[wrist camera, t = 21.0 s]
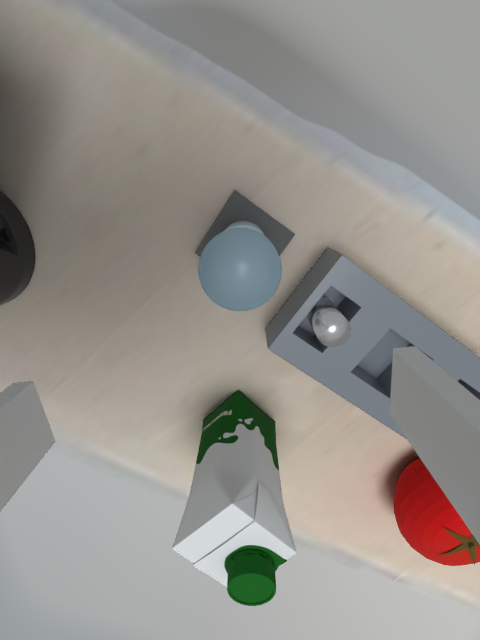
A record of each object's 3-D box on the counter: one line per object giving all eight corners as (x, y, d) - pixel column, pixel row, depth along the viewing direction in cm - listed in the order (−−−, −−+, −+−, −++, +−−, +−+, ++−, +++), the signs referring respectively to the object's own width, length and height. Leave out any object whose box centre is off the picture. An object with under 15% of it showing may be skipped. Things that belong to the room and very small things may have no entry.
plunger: (298, 312, 37) (309, 335, 31) (316, 290, 36) (331, 308, 30) (320, 327, 38) (335, 353, 31) (339, 306, 37) (358, 327, 30)
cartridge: (216, 220, 36) (192, 232, 20) (265, 215, 35) (279, 224, 20) (221, 270, 37) (204, 314, 22) (269, 265, 37) (283, 307, 22)
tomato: (456, 422, 44) (516, 485, 34) (494, 482, 47) (558, 555, 38) (363, 470, 47) (393, 540, 37) (404, 524, 51) (442, 601, 41)
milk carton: (239, 457, 47) (234, 626, 28) (193, 419, 45) (153, 574, 26) (284, 421, 45) (311, 579, 26) (237, 380, 43) (229, 518, 24)
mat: (195, 252, 37) (194, 253, 37) (234, 190, 35) (234, 190, 34) (252, 291, 39) (252, 292, 38) (294, 233, 36) (294, 234, 36)
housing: (265, 328, 40) (268, 348, 35) (327, 247, 37) (342, 254, 31) (408, 423, 44) (431, 455, 39) (476, 358, 41) (513, 382, 35)
